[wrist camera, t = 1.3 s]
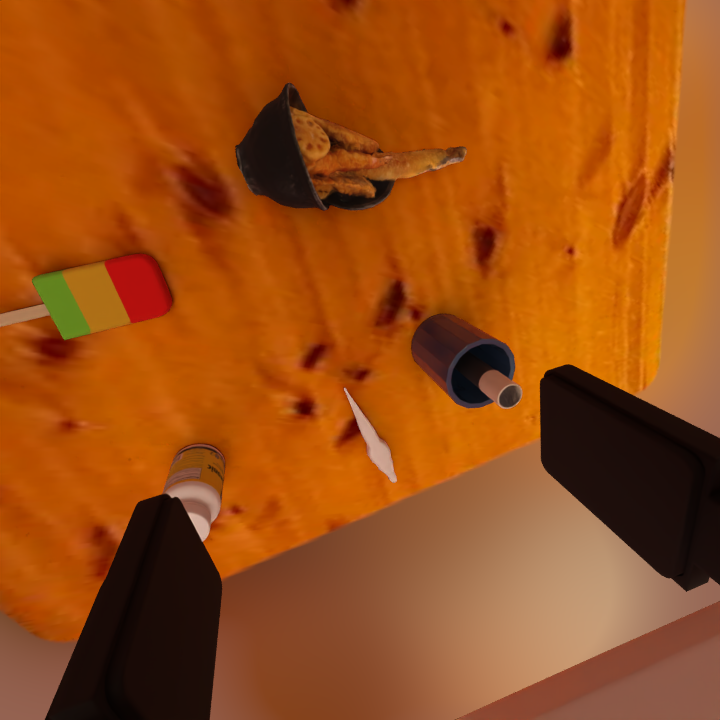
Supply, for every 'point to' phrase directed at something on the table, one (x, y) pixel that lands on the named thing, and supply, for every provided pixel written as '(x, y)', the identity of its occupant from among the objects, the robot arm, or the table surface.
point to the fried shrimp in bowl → (324, 159)
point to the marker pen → (489, 381)
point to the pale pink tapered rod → (373, 442)
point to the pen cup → (458, 356)
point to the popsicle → (98, 296)
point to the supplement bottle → (198, 484)
